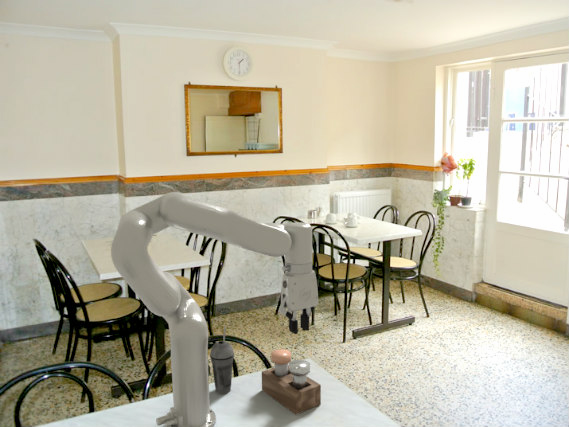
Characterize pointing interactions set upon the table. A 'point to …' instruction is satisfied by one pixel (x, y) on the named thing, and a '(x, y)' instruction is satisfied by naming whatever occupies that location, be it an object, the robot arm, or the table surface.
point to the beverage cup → (222, 365)
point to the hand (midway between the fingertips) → (299, 330)
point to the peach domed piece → (281, 361)
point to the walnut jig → (291, 391)
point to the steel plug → (299, 373)
